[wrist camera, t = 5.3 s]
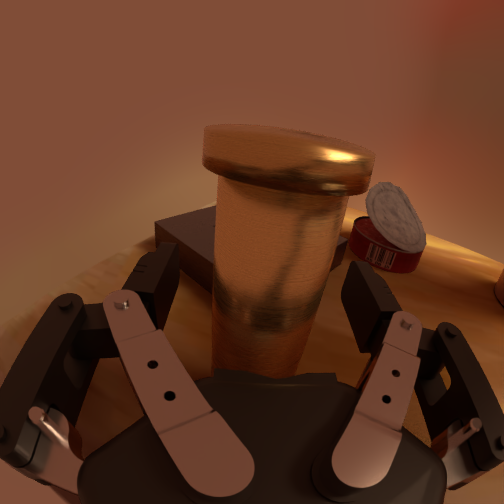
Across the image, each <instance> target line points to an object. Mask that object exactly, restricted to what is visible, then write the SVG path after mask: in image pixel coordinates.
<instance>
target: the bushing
mask: <svg viewBox="0 0 504 504" xmlns="http://www.w3.org/2000/svg"><path fill="white" fill-rule="evenodd" d="M375 156H376V154H375V153H374V152H372V151H370V150H368V149H366V148H364V147H361V146H358V145H356V144H353V143H350V142H346V141H343V140H339V139H336V138H332V137H327V136H324V135H319V134H315V133H310V132H304V131H298V130H293V129H286V128H279V127H270V126H260V125H243V124H221V125H211V126H207V127H205V128H204V139H203V156H202V164H203V166H204V167H205V168H206V169H208V170H210V171H211V172H213V173H215V174H218V175H219V176H218V190H217V206H216V223H215V243H214V267H213V297H212V357H211V377H213V375H214V368H219V369H230V370H242V371H248V372H252V373H255V374H259V375H263V376H267V377H271V378H275V379H281V378H286V377H291V376H294V375H295V372H296V369H297V367H298V364H299V361H300V359H301V356H302V353H303V351H304V348H305V345H306V342H307V339H308V336H309V334H310V331H311V328H312V325H313V322H314V319H315V316H316V313H317V310H318V307H319V304H320V300H321V297H322V294H323V291H324V288H325V284H326V281H327V278H328V274H329V271H330V268H331V264H332V261H333V257H334V253H335V250H336V246H337V243H338V239H339V235H340V231H341V227H342V223H343V219H344V215H345V211H346V207H347V203H348V199H349V196H353V195H359V194H363V193H365V192H366V191H367V190H368V187H369V183H370V179H371V175H372V170H373V166H374V161H375Z"/></svg>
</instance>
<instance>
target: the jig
mask: <svg viewBox="0 0 504 504" xmlns="http://www.w3.org/2000/svg"><path fill="white" fill-rule="evenodd" d="M216 206H217V205H216ZM216 206H212V207H208V208H204V209H200V210H196V211H193V212H189V213H185V214H182V215H177V216H174V217H170V218H166V219H163V220H159V221H156V222H155V241H156V248H158V246H159V245H160V243H161V242H167V243H177V244H178V246H179V268H180V269H182V270H183V271H184V272H185V273H186V274H188V275H189V276H190V277H191V278H192V279H194V280H195V281H196V282H197V283H199V284H200V285H201V286H202V287H204V288H205V289H206V290H207V291H209V292H210V293H211V294H212V295H213V267H214V243H215V223H216ZM347 242H348V239H346V238H344V237H342V236H340V235H339V239H338V243H337V246H336V250H335V253H334V257H333V261H332V264H331V268H330V271H332V270H333V269H334V268H336V267H337V266H339V265H340V264H341V262H342V259H343V255H344V252H345V249H346V245H347ZM330 271H329V272H330Z"/></svg>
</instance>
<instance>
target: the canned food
mask: <svg viewBox="0 0 504 504" xmlns="http://www.w3.org/2000/svg"><path fill="white" fill-rule="evenodd" d="M366 208H367V213H368V215H369V216H363V217H359V218H356V219H355V220H354V225H353V229H352V232H351V236H350V239H349V247H350V248H351V250H352V251H353V252H354V254H355V255H357V256H358V257H359V258H360V259H362V260H363V261H365V262H368V263H369V264H370V265H372V266H375V267H377V268H379V269H382V270H385V271H389V272H394V273H409V272H412V271H414V270H415V269H416V267H417V265H418V262H419V260H420V257H421V255H422V252H423V250H424V247H425V245H426V234H425V232H424V229H423V226H422V223H421V221H420V219H419V218H418V216H417V213H416V211H415V209H414V208H413V206H412V205H411V203H410V201H409V199H408V197H407V196H406V194H405V193H404V192H403V190H402V189H401V188H400V187H397V186H394V185H393V184H392V183H390V182H379V183H378V184H376V185H375V186H374V187H372V188H371V189H370V190H369V192H368V195H367V198H366Z"/></svg>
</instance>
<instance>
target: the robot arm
mask: <svg viewBox="0 0 504 504" xmlns="http://www.w3.org/2000/svg"><path fill="white" fill-rule="evenodd" d="M179 276H180V272H179V246H178V244H177V243H167V242H161V243H160V245H159V246H158V248H157V250H156V251H155V252H148V253H147V254H145V255H144V256H142V257H141V258H140V259H139V261H138V263H137V264H136V266H135V268H134V269H133V272H131V274H130V276H129V277H128V279H127V281H126V282H125V284H124V286H123V287H122V289H121V290H117V291H114V292H112V293H110V294H109V295H107V296H106V298H105V299H104V301H103V303H98V304H85V305H84V303H83V300H82V298H81V297H80V296H79V295H77V294H74V293H67V294H63V295H60V296H59V297H57V298H56V299H54V300H53V302H52V303H51V304H50V306H49V307H48V309H47V310H46V312H45V313H44V315H43V316H42V317H41V319H40V321H39V322H38V324H37V325H36V327H35V328H34V330H33V331H32V333H31V335H30V336H29V338H28V339H27V341H26V343H25V344H24V346H23V348H22V349H21V351H20V353H19V355H18V356H17V358H16V360H15V362H14V363H13V365H12V367H11V369H10V371H9V373H8V375H7V376H6V378H5V380H4V382H3V384H2V386H1V388H0V458H1V459H2V460H4V461H5V462H6V463H7V464H8V465H9V466H11V467H12V468H14V469H15V470H17V471H18V472H20V473H22V474H23V475H25V476H27V477H29V478H31V479H34V480H35V481H37V482H39V483H41V484H43V485H54V486H56V487H58V488H61V489H63V490H65V491H68V492H70V493H73V494H75V495H78V496H79V498H80V501H81V504H443V502H444V497H445V492H446V489H448V490H456V489H459V488H460V487H462V486H464V485H466V484H468V483H470V482H471V481H473V480H475V479H477V478H478V477H480V476H482V475H483V474H485V473H487V472H488V471H490V470H491V469H493V468H494V467H496V466H498V465H499V464H500V463H502V462H503V461H504V414H503V412H502V409H501V407H500V405H499V403H498V400H497V398H496V396H495V394H494V392H493V390H492V388H491V386H490V384H489V382H488V380H487V378H486V376H485V374H484V372H483V370H482V368H481V366H480V364H479V362H478V361H477V359H476V357H475V355H474V353H473V352H472V350H471V348H470V346H469V345H468V343H467V341H466V339H465V338H464V336H463V334H462V333H461V331H460V330H459V329H458V328H457V327H456V326H454V325H453V324H451V323H447V322H442V323H440V324H439V325H438V327H437V328H436V330H435V331H434V330H430V329H426V328H422V324H421V322H420V321H419V319H418V318H417V317H416V316H414V315H413V314H411V313H408V312H405V311H403V310H402V309H401V307H400V305H399V304H398V302H397V300H396V298H395V297H394V295H393V294H392V292H391V290H390V288H389V287H388V285H387V283H386V282H385V280H384V279H383V278H382V277H381V276H379V275H378V274H377V273H375V272H374V271H373V269H372V267H371V266H370V264H369V263H368V262H362V261H352V262H351V263H350V266H349V269H348V272H347V275H346V278H345V281H344V284H343V287H342V291H341V300H342V303H343V306H344V309H345V311H346V314H347V317H348V319H349V322H350V325H351V328H352V331H353V333H354V336H355V339H356V342H357V345H358V348H359V351H360V353H371V357H370V358H369V360H368V362H367V364H366V366H365V368H364V370H363V373H362V375H361V377H360V379H359V381H358V383H357V385H356V387H355V388H354V387H352V386H350V385H348V384H345V383H341V382H337V378H336V374H335V373H306V374H301V375H296V376H291V377H286V378H281V379H275V378H271V377H267V376H263V375H259V374H255V373H252V372H248V371H242V370H230V369H219V368H214V375H213V377H207V378H202V379H199V380H196V381H193V380H192V379H191V377H190V376H189V374H188V373H187V371H186V369H185V368H184V366H183V365H182V363H181V362H180V360H179V358H178V357H177V355H176V353H175V352H174V350H173V348H172V347H171V345H170V343H169V342H168V340H167V338H166V336H165V335H164V333H163V329H164V326H165V323H166V320H167V317H168V314H169V311H170V308H171V305H172V302H173V300H174V297H175V294H176V291H177V288H178V285H179ZM494 292H495V295H496V297H497V298H498V300H499V301H500V303H501V304H502V305H503V306H504V269H503V271H502V273H501V275H500V277H499V279H498V281H497V283H496V285H495V288H494ZM115 357H119V358H120V361H121V363H122V366H123V368H124V371H125V373H126V376H127V378H128V380H129V383H130V385H131V387H132V389H133V392H134V394H135V396H136V399H137V401H138V403H139V405H140V407H141V409H142V412H143V414H144V416H143V417H142V418H140V419H139V420H138V421H136V422H135V423H134V424H132V425H131V426H130V427H128V428H127V429H125V430H124V431H123V432H121V433H120V434H118V435H117V436H116V437H114V438H113V439H111V440H110V441H108V442H107V443H106V444H104V445H103V446H101V447H100V448H98V449H97V450H95V451H94V452H92V453H91V454H90V455H89V456H88V457H87V458H86V459H85V460H84V459H83V457H82V451H81V450H82V439H81V436H80V434H79V432H78V431H77V430H76V429H75V425H76V422H77V419H78V416H79V413H80V410H81V407H82V404H83V401H84V398H85V395H86V393H87V390H88V387H89V385H90V382H91V379H92V377H93V374H94V372H95V369H96V367H97V364H98V362H99V359H100V358H115ZM444 367H446V369H447V371H448V373H449V375H450V378H451V385H450V388H449V389H448V390H447V389H446V387H445V384H444V382H443V380H442V378H441V375H440V372H441V371H442V369H443V368H444ZM413 389H414V390H415V392H416V395H417V398H418V401H419V404H420V407H421V410H422V413H423V416H424V419H425V422H426V425H427V428H428V432H429V435H430V438H431V442H432V443H431V447H430V448H429V447H428V446H427V445H425V444H424V443H423V442H422V441H420V440H419V439H418V438H417V437H415V436H414V435H413V434H412V433H410V432H409V431H408V430H407V429H406V428H404V427H403V426H402V424H403V421H404V418H405V415H406V412H407V409H408V406H409V402H410V399H411V396H412V392H413Z"/></svg>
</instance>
